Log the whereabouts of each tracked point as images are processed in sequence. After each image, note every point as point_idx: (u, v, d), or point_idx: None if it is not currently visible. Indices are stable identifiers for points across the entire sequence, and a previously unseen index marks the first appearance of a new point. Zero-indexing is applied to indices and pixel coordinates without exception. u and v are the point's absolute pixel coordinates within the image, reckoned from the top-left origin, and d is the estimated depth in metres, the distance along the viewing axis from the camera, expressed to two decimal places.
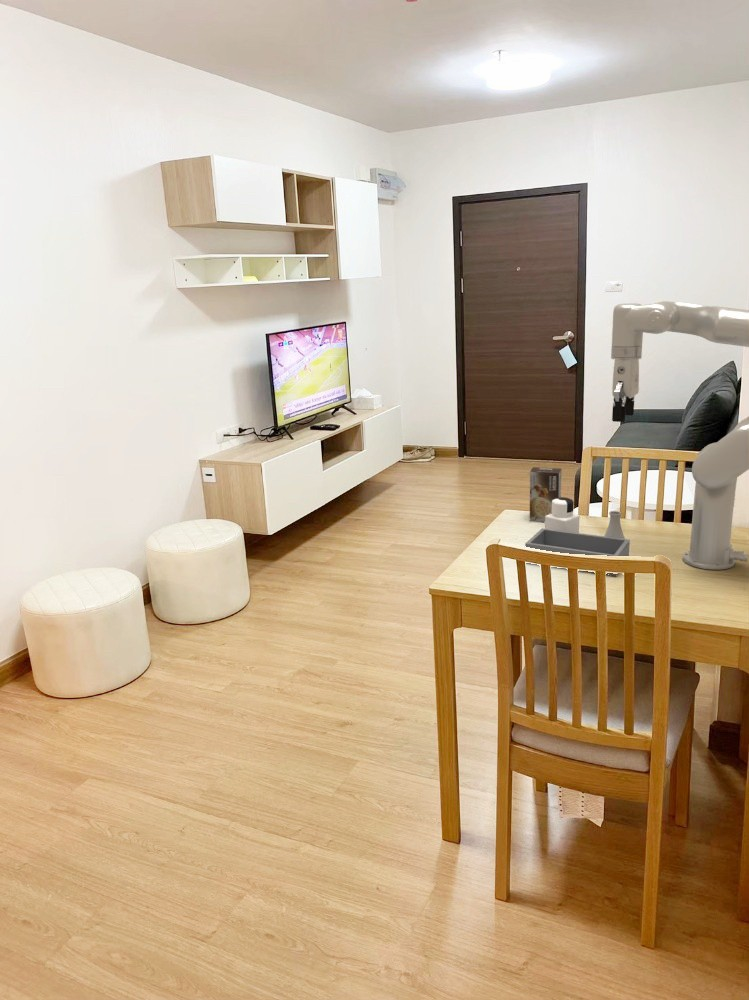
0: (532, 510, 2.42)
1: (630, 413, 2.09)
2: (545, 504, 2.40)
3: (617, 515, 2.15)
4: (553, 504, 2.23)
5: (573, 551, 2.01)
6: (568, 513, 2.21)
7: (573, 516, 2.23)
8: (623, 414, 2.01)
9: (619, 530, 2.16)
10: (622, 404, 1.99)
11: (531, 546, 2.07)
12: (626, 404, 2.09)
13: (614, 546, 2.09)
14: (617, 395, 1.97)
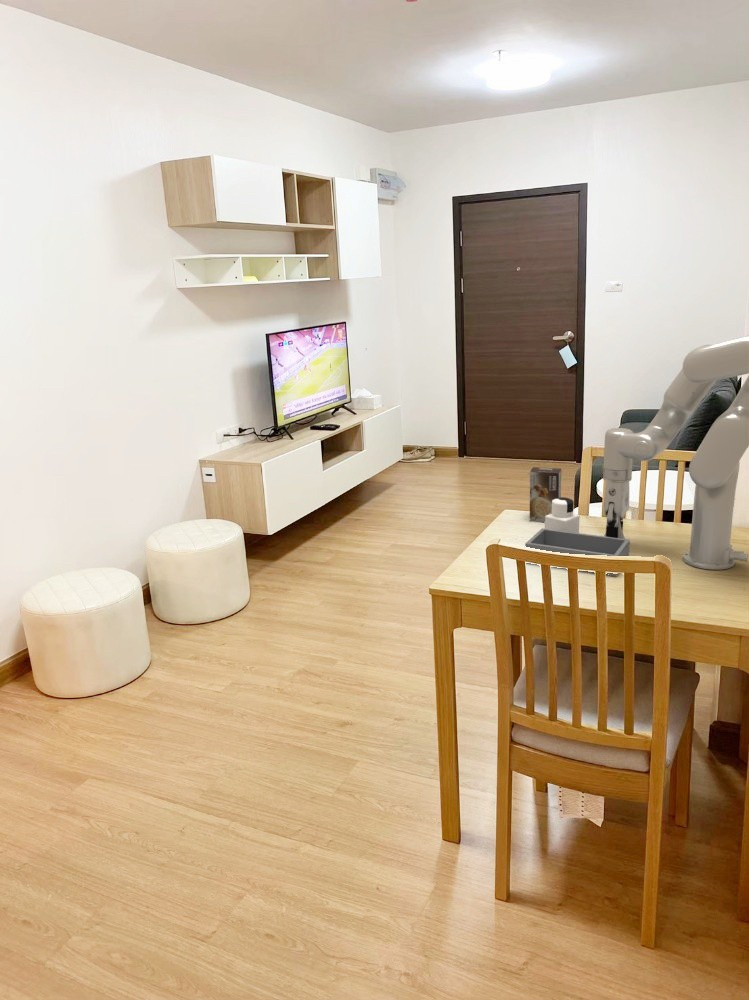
0: (532, 510, 2.42)
1: None
2: (545, 504, 2.40)
3: None
4: (553, 504, 2.23)
5: (573, 551, 2.01)
6: (568, 513, 2.21)
7: (573, 516, 2.23)
8: (616, 534, 2.14)
9: (619, 530, 2.16)
10: (615, 526, 2.13)
11: (531, 546, 2.07)
12: None
13: (614, 546, 2.09)
14: (610, 521, 2.11)
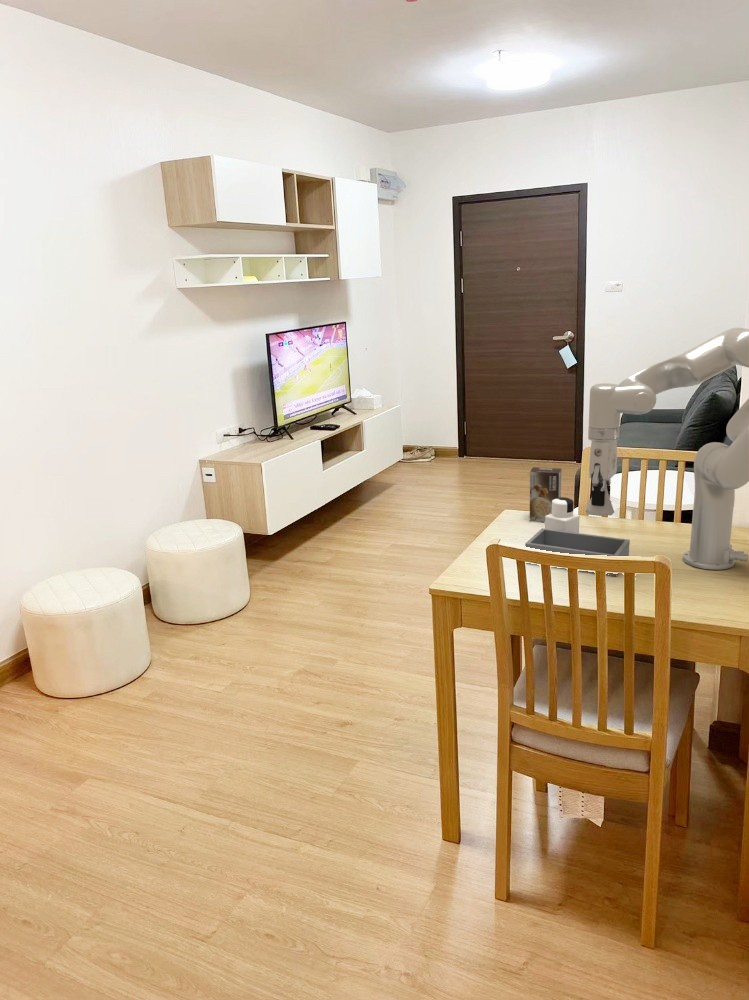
0: (532, 510, 2.42)
1: None
2: (545, 504, 2.40)
3: None
4: (553, 504, 2.23)
5: (573, 551, 2.01)
6: (568, 513, 2.21)
7: (573, 516, 2.23)
8: (602, 499, 1.98)
9: (605, 495, 1.99)
10: (601, 490, 1.96)
11: (531, 546, 2.07)
12: None
13: (614, 546, 2.09)
14: (595, 484, 1.94)
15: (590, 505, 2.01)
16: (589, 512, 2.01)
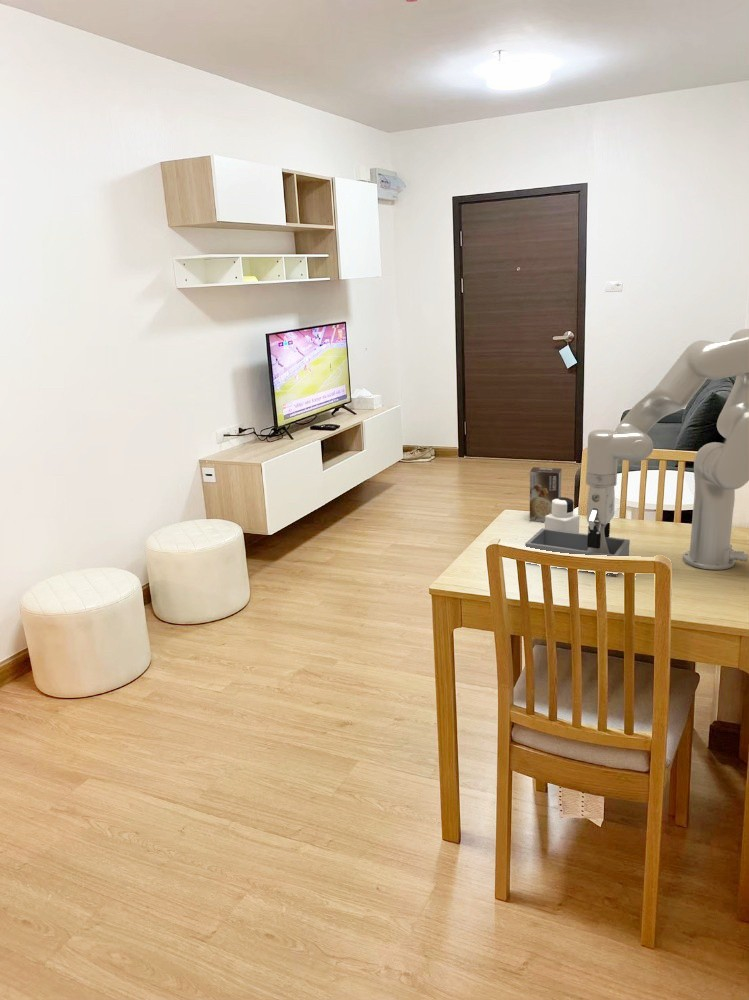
0: (532, 510, 2.42)
1: (606, 535, 2.07)
2: (545, 504, 2.40)
3: (601, 527, 2.02)
4: (553, 504, 2.23)
5: (573, 551, 2.01)
6: (568, 513, 2.21)
7: (573, 516, 2.23)
8: (598, 541, 1.99)
9: (603, 543, 2.03)
10: (597, 532, 1.98)
11: (531, 546, 2.07)
12: None
13: (614, 546, 2.09)
14: (591, 524, 1.96)
15: None
16: None
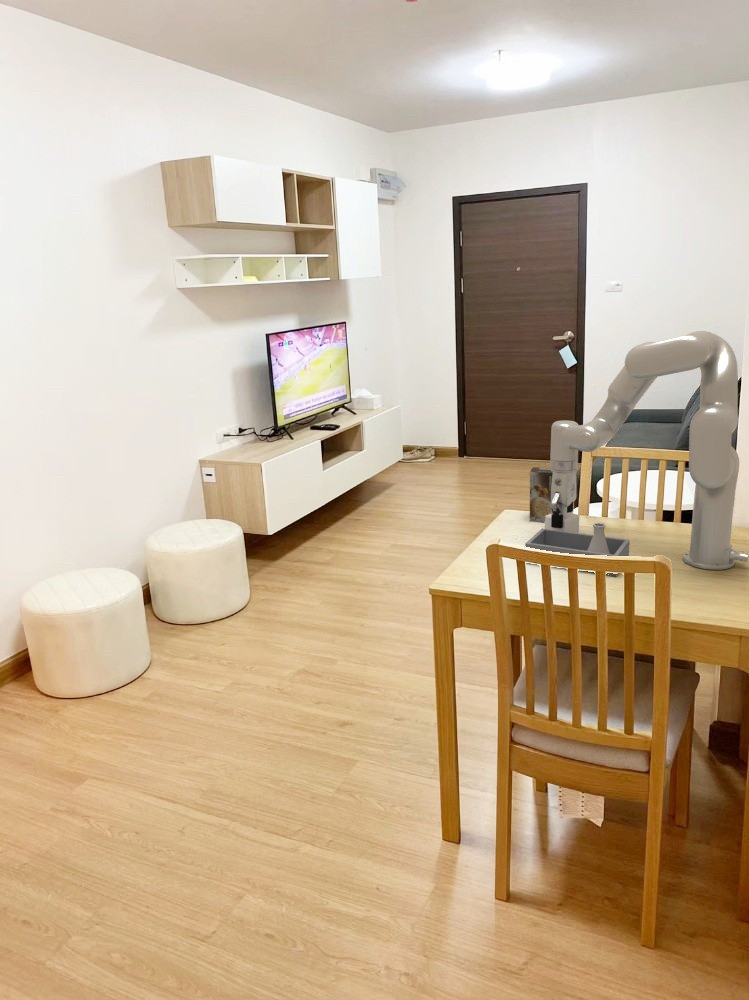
0: (532, 510, 2.42)
1: None
2: (545, 504, 2.40)
3: (601, 527, 2.02)
4: None
5: (573, 551, 2.01)
6: (568, 513, 2.21)
7: (573, 516, 2.23)
8: (561, 521, 2.20)
9: (603, 543, 2.03)
10: (559, 513, 2.19)
11: (531, 546, 2.07)
12: None
13: (614, 546, 2.09)
14: (554, 506, 2.16)
15: None
16: None
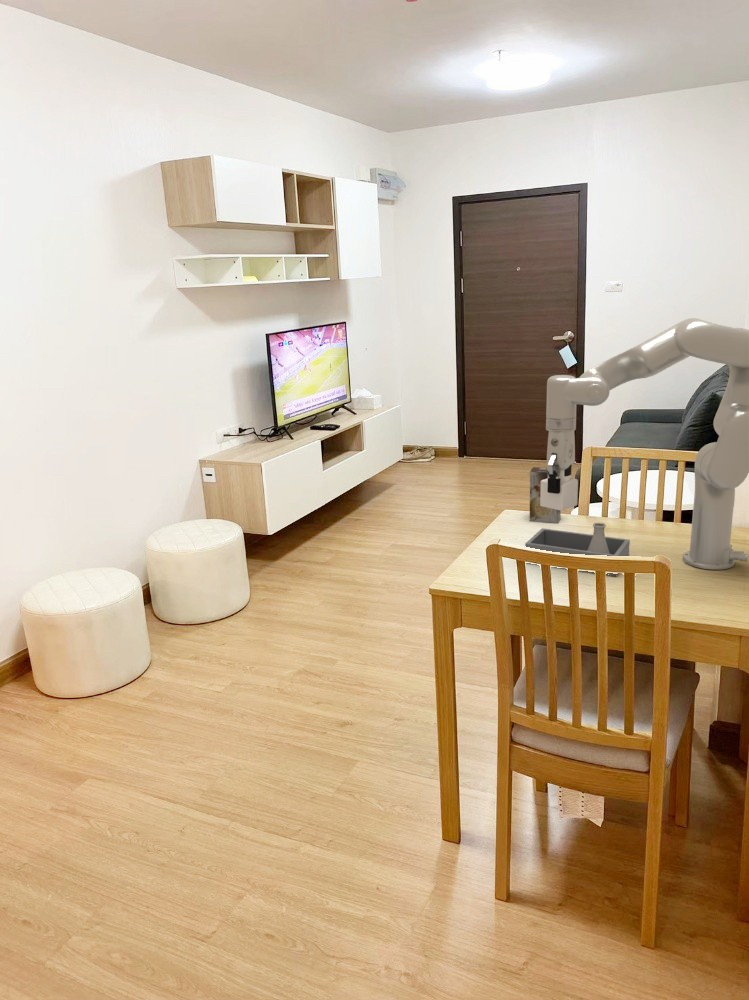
0: (532, 510, 2.42)
1: None
2: None
3: (601, 527, 2.02)
4: None
5: (573, 551, 2.01)
6: (566, 477, 2.02)
7: (571, 480, 2.04)
8: (558, 486, 2.01)
9: (603, 543, 2.03)
10: (556, 477, 1.99)
11: (531, 546, 2.07)
12: None
13: (614, 546, 2.09)
14: (550, 469, 1.97)
15: None
16: None
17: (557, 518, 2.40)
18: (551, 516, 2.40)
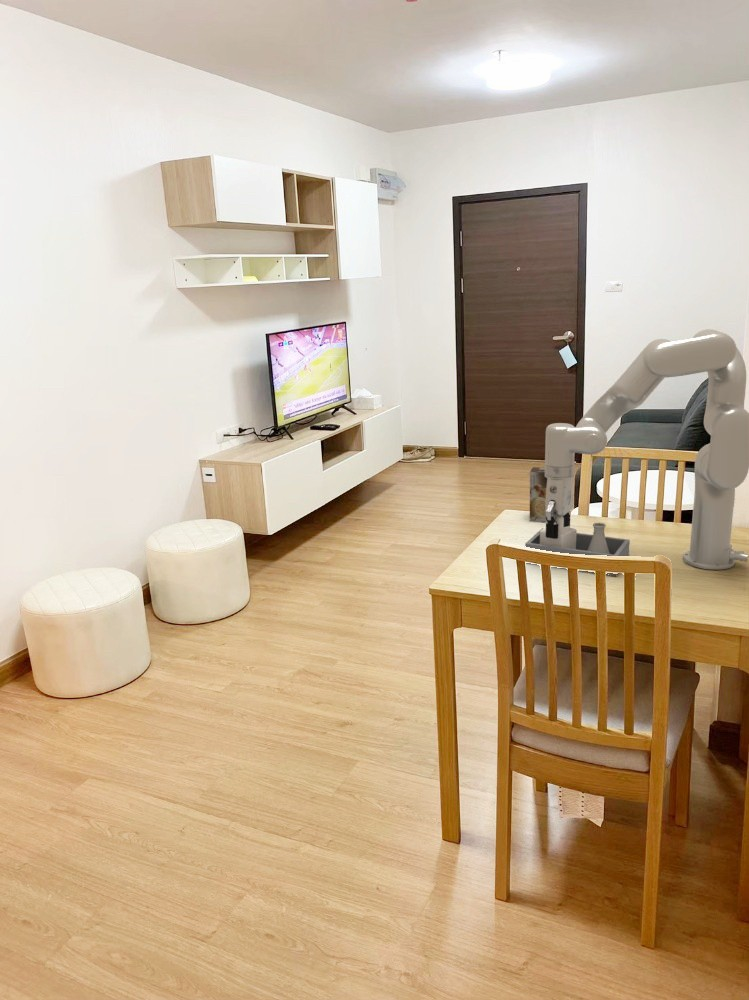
0: (532, 510, 2.42)
1: None
2: None
3: (601, 527, 2.02)
4: None
5: (573, 551, 2.01)
6: (565, 527, 2.06)
7: (570, 530, 2.08)
8: (556, 531, 2.04)
9: (603, 543, 2.03)
10: (554, 522, 2.03)
11: (531, 546, 2.07)
12: None
13: (614, 546, 2.09)
14: (549, 515, 2.00)
15: None
16: None
17: None
18: None
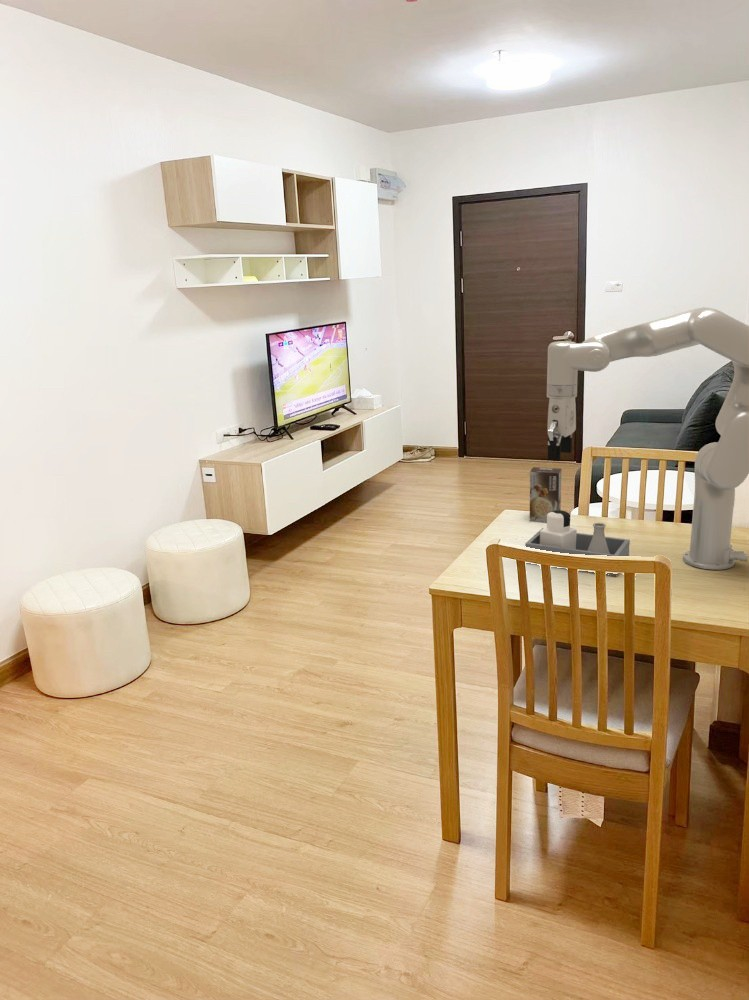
0: (532, 510, 2.42)
1: (568, 450, 2.07)
2: (545, 504, 2.40)
3: (601, 527, 2.02)
4: (548, 518, 2.07)
5: (573, 551, 2.01)
6: (565, 527, 2.06)
7: (570, 530, 2.08)
8: (558, 453, 1.98)
9: (603, 543, 2.03)
10: (557, 443, 1.97)
11: (531, 546, 2.07)
12: (564, 441, 2.07)
13: (614, 546, 2.09)
14: (551, 435, 1.95)
15: None
16: None
17: None
18: None
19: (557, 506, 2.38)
